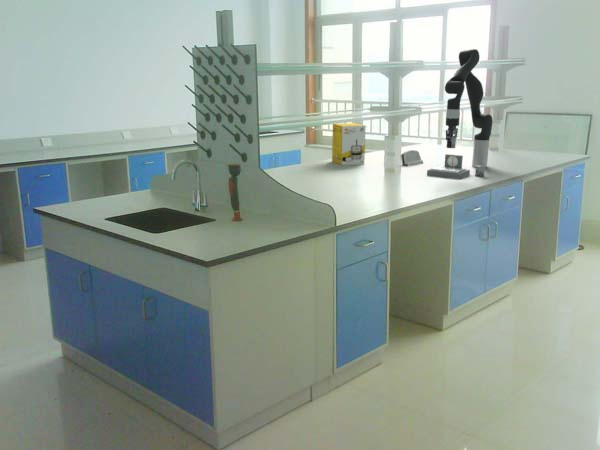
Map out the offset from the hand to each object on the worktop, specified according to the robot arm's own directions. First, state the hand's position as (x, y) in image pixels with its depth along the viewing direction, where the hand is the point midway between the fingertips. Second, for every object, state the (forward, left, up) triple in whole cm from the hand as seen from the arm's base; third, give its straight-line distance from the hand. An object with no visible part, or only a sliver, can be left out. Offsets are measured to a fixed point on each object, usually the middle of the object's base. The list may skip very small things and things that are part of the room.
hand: (450, 146), depth 347 cm
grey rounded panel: (-27, -37, -18) cm, 49 cm away
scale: (-3, -2, -17) cm, 18 cm away
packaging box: (-7, -73, -17) cm, 75 cm away
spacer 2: (-11, +14, -17) cm, 25 cm away
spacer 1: (0, 0, 0) cm, 0 cm away
